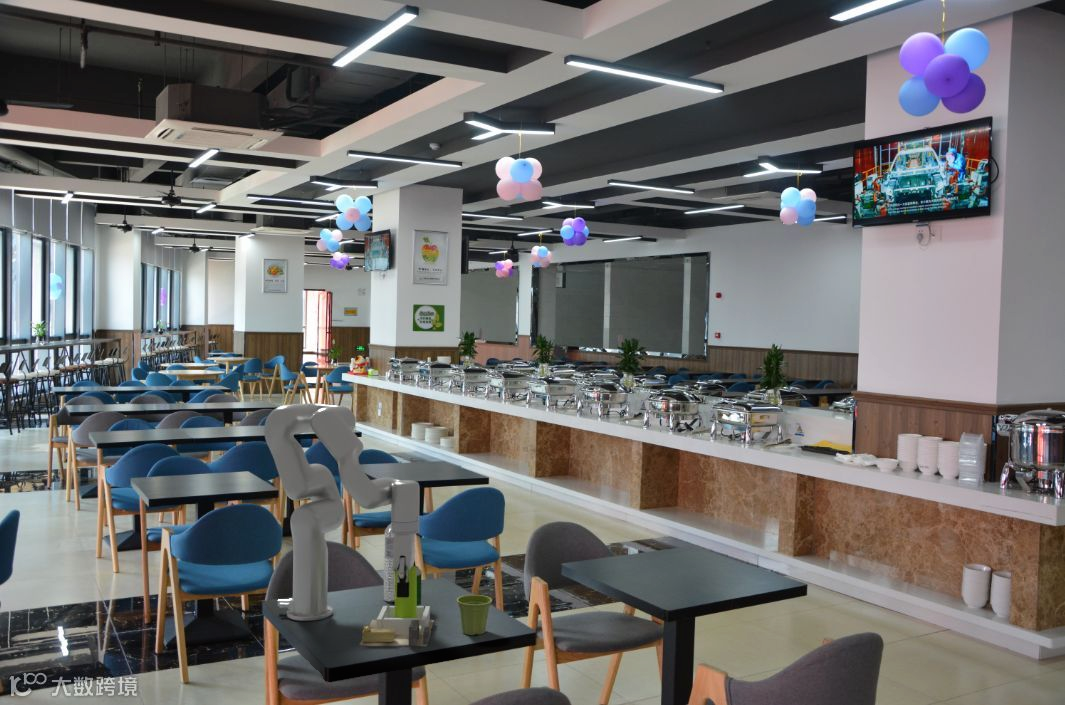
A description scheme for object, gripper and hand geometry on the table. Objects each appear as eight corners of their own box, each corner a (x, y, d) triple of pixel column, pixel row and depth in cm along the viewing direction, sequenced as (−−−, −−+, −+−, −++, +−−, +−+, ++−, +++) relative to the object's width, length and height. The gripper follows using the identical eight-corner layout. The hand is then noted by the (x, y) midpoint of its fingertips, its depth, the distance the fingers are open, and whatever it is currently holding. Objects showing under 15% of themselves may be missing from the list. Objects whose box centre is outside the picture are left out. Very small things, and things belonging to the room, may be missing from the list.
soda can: (423, 605, 249) (424, 565, 249) (417, 613, 242) (418, 571, 242) (398, 604, 250) (399, 564, 250) (392, 612, 243) (392, 570, 243)
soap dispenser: (387, 618, 227) (387, 544, 226) (405, 611, 232) (405, 539, 232) (403, 622, 223) (403, 548, 223) (421, 615, 229) (421, 542, 229)
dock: (376, 634, 222) (376, 619, 222) (383, 620, 234) (383, 605, 234) (425, 634, 222) (425, 619, 222) (429, 620, 234) (430, 606, 234)
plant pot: (468, 624, 233) (468, 592, 233) (497, 629, 229) (498, 597, 229) (449, 633, 225) (450, 601, 225) (479, 639, 220) (480, 606, 220)
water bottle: (399, 595, 260) (400, 514, 260) (410, 600, 254) (411, 517, 255) (379, 599, 255) (380, 516, 255) (390, 604, 250) (392, 520, 250)
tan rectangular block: (362, 641, 215) (362, 628, 215) (363, 638, 218) (363, 625, 218) (393, 641, 215) (393, 628, 215) (394, 638, 218) (395, 625, 218)
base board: (358, 647, 213) (359, 627, 213) (372, 621, 234) (372, 602, 234) (427, 647, 214) (427, 627, 214) (434, 621, 235) (435, 603, 235)
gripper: (395, 520, 237) (394, 584, 237) (386, 533, 219) (385, 602, 219) (422, 520, 237) (421, 585, 237) (415, 533, 220) (414, 602, 220)
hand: (404, 592), depth 228 cm, fingers closed on soap dispenser, 6 cm apart
